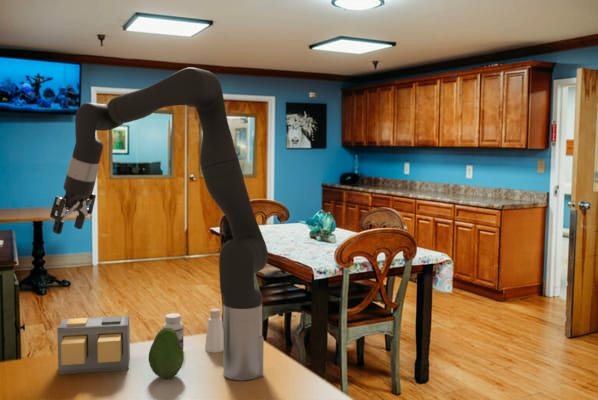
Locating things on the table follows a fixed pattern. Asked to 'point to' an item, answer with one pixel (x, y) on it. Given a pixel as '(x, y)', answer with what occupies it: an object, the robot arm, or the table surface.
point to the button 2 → (109, 347)
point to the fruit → (166, 354)
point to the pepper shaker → (214, 332)
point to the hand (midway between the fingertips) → (67, 230)
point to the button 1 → (74, 349)
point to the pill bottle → (175, 325)
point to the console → (95, 342)
